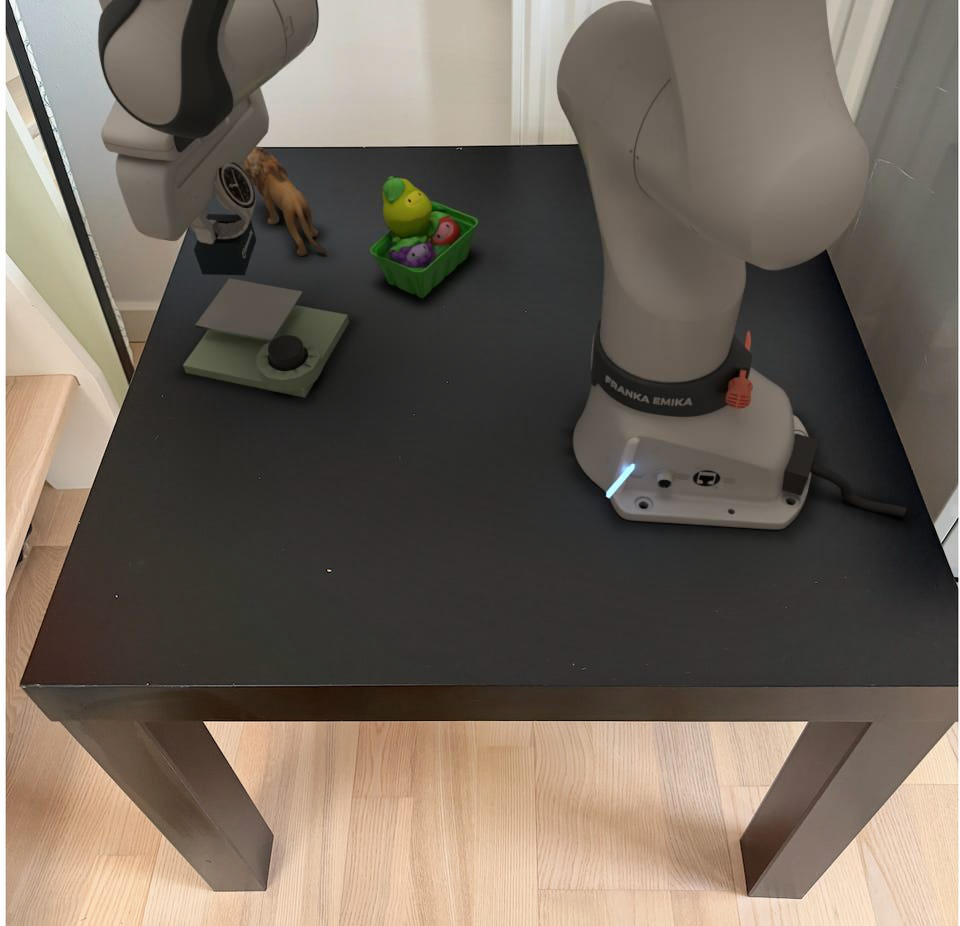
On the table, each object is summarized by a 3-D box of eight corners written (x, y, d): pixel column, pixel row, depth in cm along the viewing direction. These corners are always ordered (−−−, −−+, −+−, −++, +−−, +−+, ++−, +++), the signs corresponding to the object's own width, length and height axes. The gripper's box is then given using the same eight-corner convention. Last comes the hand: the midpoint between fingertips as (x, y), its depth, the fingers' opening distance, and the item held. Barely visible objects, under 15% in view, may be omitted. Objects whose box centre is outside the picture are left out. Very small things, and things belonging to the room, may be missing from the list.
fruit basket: (424, 309, 102) (415, 225, 93) (364, 282, 105) (350, 198, 97) (482, 255, 108) (479, 172, 99) (423, 231, 111) (415, 148, 102)
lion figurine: (241, 214, 115) (223, 150, 108) (276, 196, 117) (261, 132, 110) (309, 266, 108) (295, 201, 101) (345, 246, 110) (333, 181, 103)
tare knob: (311, 350, 95) (308, 338, 93) (297, 374, 92) (294, 362, 91) (280, 344, 95) (276, 332, 94) (265, 367, 93) (261, 355, 92)
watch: (263, 275, 90) (237, 182, 82) (185, 273, 91) (150, 180, 82) (275, 239, 94) (251, 145, 85) (199, 237, 94) (167, 144, 86)
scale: (355, 323, 101) (351, 303, 99) (309, 404, 93) (303, 384, 91) (236, 301, 104) (230, 280, 102) (182, 378, 96) (174, 357, 94)
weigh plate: (303, 294, 100) (302, 291, 99) (272, 342, 95) (271, 339, 95) (230, 280, 102) (229, 278, 101) (195, 327, 97) (194, 324, 97)
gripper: (207, 30, 86) (241, 161, 96) (88, 144, 73) (142, 280, 84) (268, 37, 84) (295, 169, 95) (157, 155, 72) (203, 291, 83)
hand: (222, 222), depth 89 cm, fingers closed on watch, 4 cm apart
